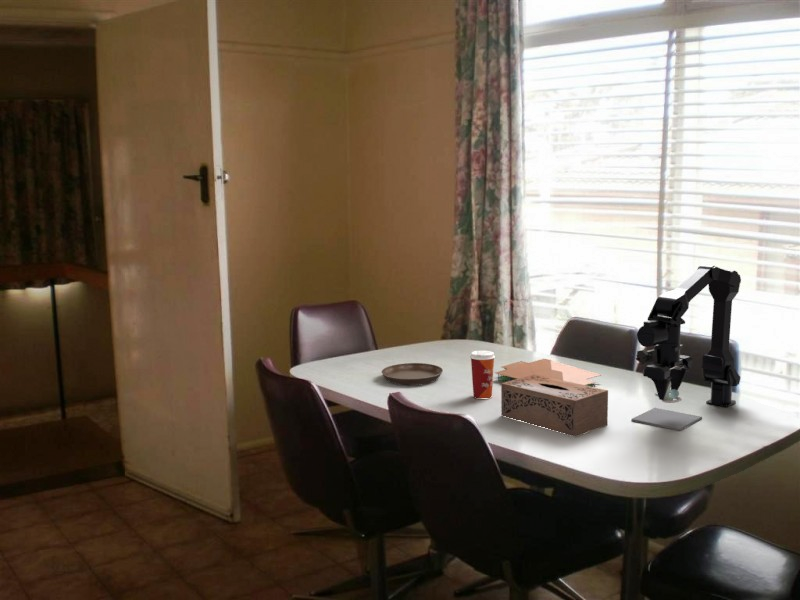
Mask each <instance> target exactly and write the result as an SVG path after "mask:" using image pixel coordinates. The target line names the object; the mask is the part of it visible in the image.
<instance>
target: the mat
mask: <svg viewBox="0 0 800 600" xmlns="http://www.w3.org/2000/svg"><path fill="white" fill-rule="evenodd" d="M702 419H703V418H702V416H701V415H695V414H691V413H685V412H679V411H673V410H669V409H663V408H659V407H652V408H651V409H650V410H647V411H645V412H643V413H641V414H638V415H636V416H634V417H632V418H631V422H634V423H635V422H636V423H639V424H645V425H650V426H653V425H654V426H653V427H658V426H659V428H663V427H664V428H663V429H668V428H669V429H668V430H674V431H678V430H680V431H682V430H684V429H686V428H687V426H688V427H689V425H690V426H691V425H693V424H695V423H697V422H699V421H700V420H702ZM698 420H699V421H698ZM696 421H697V422H696ZM685 427H686V428H685ZM683 428H684V429H683ZM681 429H682V430H681Z"/></svg>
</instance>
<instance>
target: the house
mask: <svg viewBox="0 0 800 600" xmlns="http://www.w3.org/2000/svg"><path fill="white" fill-rule="evenodd" d="M501 368H502V370H499V371H495V372H494V374H496V375H497V381H498V380H499V381H500V380H501V379H502V380H504V382H507V378H508V377H509V381H512V379H513V380H515V379H519V378H523V377H526V376H530V375H533V374H535V375H540V376H544V377H549V378H553V379H558V380H563V381H567V382H572V383H576V384H581V385H586V386H590V387H593V384H595V383H597V382H596V381H594V380H591V379H593V378H596V377H601V376H602V374H599V373H596V372H593V371H589V370H586V369H583V368H579V367H575V366H573V365H569V364H566V363H562V362H558V361H556V360H552V359H548V358H541V359H538V360H534V361H531V362H526V361H523V360H520V361H517V362H512V363H510V364H506V365H502V366H501ZM506 376H507V377H506Z"/></svg>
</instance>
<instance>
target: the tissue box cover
mask: <svg viewBox="0 0 800 600" xmlns="http://www.w3.org/2000/svg"><path fill="white" fill-rule="evenodd" d="M500 390H501V402H500V403H501V414H500V415H503V416H506V417H509V418H513V419H516V420H521V421H524V422H527V423H530V424H529V425H531V424H534V425H537V426H536V427H538V426H541V427H545V428H548V429H547V430H549V429H551V430H550V431H552V430H554V431H553V432H556V431H558V432H557V433H560V432H561V433H560V434H563V433H565V434H564V435H567V434H568V436H572V437H575V438H576V437H578V436H581V435H584V434H586V433H589V432H592V431H594V430H597V429H600V428H603V427H605V425H606V426H608V422H609V421H608V413H609V412H608V409H609V407H608V405H609V390H608V389H604V388H599V387H595V386H592V387H590V385H588V386H587V385H581V384H576V383H572V382H567V381H563V380H558V379H553V378H549V377H544V376H540V375H535V374H533V375H530V376H526V377H523V378H519V379H515V380H514V379H511V381H510V380H507V381H506V382H505V381H503V382H501V389H500ZM509 418H508V419H509ZM516 420H515V421H516ZM527 423H526V424H527ZM534 425H533V426H534ZM541 427H540V428H541ZM545 428H544V429H545Z"/></svg>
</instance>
